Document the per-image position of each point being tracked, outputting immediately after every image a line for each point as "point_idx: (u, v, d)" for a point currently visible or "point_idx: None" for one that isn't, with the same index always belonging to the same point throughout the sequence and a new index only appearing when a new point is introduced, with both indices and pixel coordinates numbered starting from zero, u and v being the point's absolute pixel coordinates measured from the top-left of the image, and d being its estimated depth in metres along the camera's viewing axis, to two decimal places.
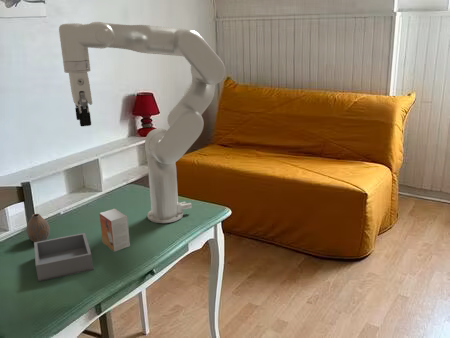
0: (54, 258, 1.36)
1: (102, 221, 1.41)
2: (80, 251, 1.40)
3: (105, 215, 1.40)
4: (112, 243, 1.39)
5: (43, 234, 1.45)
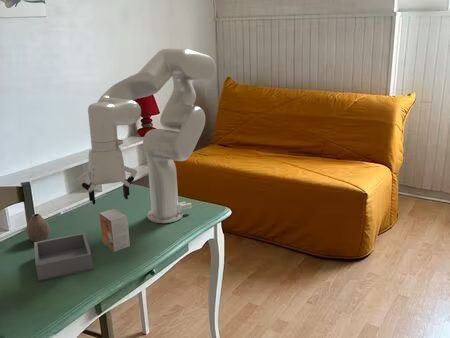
0: (54, 258, 1.36)
1: (102, 221, 1.41)
2: (80, 251, 1.40)
3: (105, 215, 1.40)
4: (112, 243, 1.39)
5: (43, 234, 1.45)
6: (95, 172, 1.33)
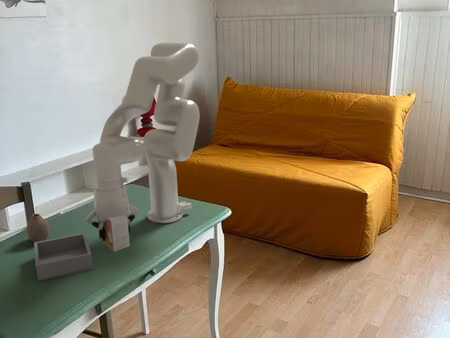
0: (54, 258, 1.36)
1: None
2: (80, 251, 1.40)
3: None
4: (112, 243, 1.39)
5: (43, 234, 1.45)
6: (100, 210, 1.37)
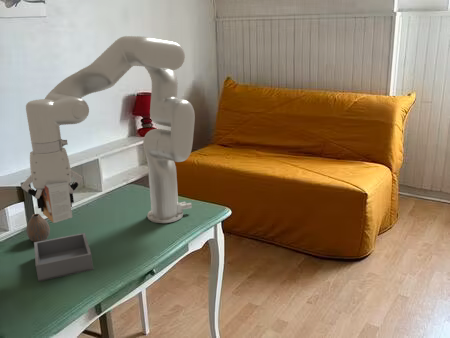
0: (54, 258, 1.36)
1: None
2: (80, 251, 1.40)
3: None
4: (51, 213, 1.24)
5: (43, 234, 1.45)
6: (36, 175, 1.22)
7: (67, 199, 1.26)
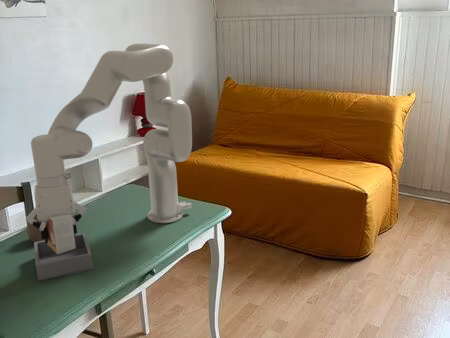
0: (54, 258, 1.36)
1: None
2: (80, 251, 1.40)
3: None
4: (55, 245, 1.27)
5: None
6: (41, 209, 1.25)
7: (70, 231, 1.29)
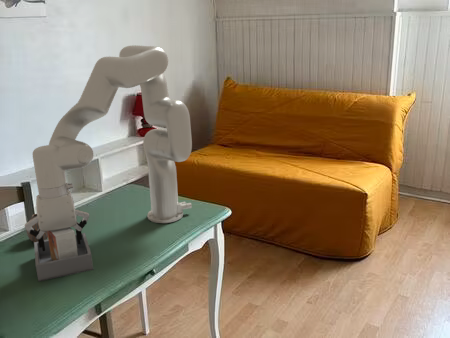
0: None
1: (49, 235, 1.31)
2: (80, 251, 1.40)
3: None
4: None
5: (43, 234, 1.45)
6: (42, 219, 1.26)
7: (74, 246, 1.31)
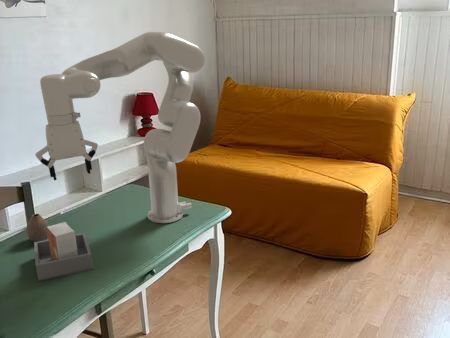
0: None
1: (49, 235, 1.31)
2: (80, 251, 1.40)
3: (51, 229, 1.30)
4: None
5: (43, 234, 1.45)
6: (53, 147, 1.29)
7: (74, 246, 1.31)
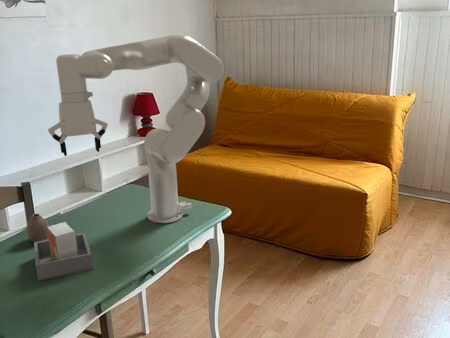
0: None
1: (49, 235, 1.31)
2: (80, 251, 1.40)
3: (51, 229, 1.30)
4: None
5: (43, 234, 1.45)
6: (65, 123, 1.35)
7: (74, 246, 1.31)
